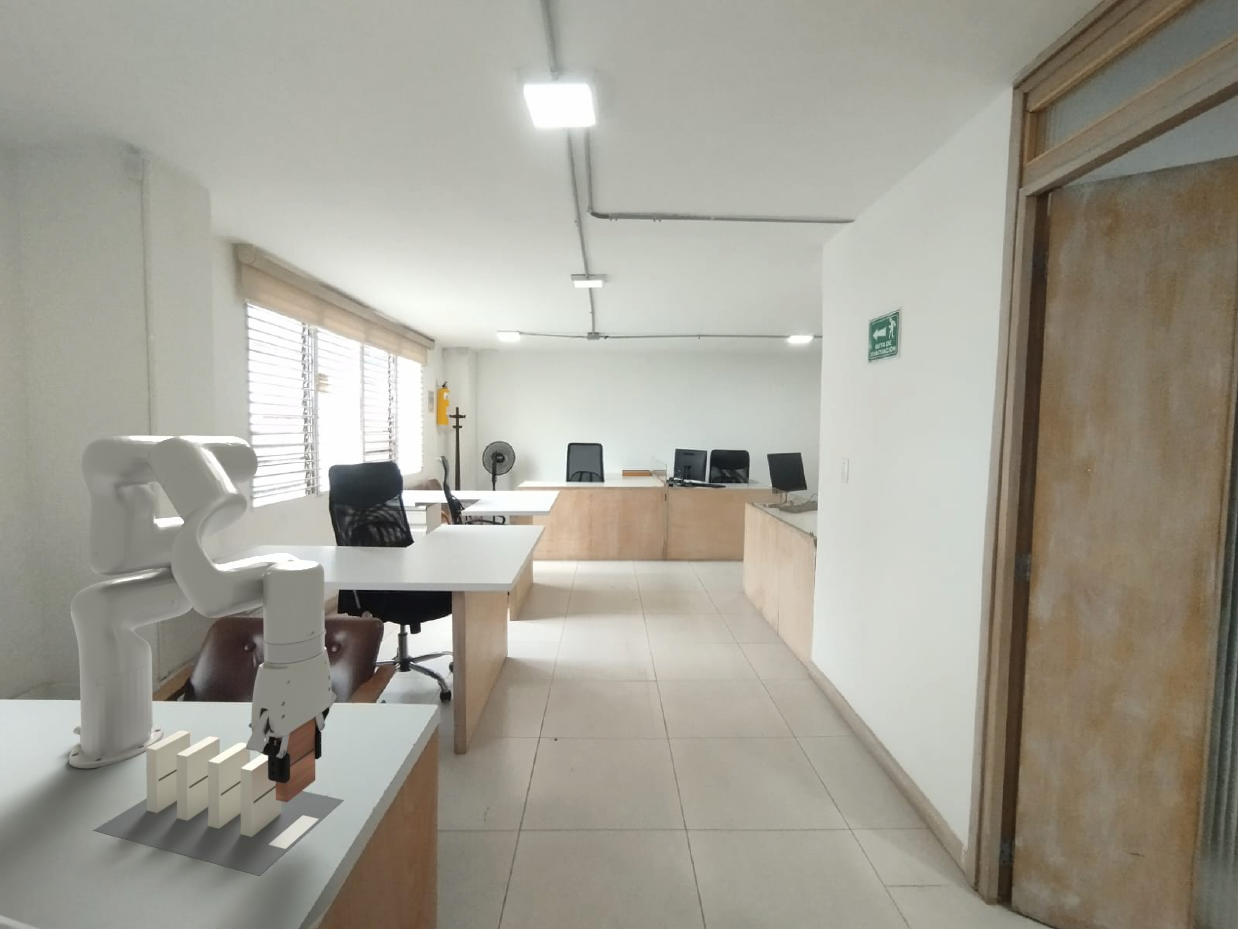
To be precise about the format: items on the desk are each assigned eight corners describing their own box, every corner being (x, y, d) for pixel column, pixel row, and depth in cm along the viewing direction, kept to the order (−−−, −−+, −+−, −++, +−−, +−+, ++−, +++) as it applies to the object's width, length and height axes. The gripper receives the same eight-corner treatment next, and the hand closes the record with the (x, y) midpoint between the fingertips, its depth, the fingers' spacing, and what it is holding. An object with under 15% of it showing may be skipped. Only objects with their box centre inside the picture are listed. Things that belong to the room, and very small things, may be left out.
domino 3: (208, 826, 77) (207, 761, 77) (239, 803, 82) (239, 742, 82) (219, 829, 77) (218, 763, 76) (250, 806, 82) (250, 744, 81)
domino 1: (146, 810, 80) (145, 747, 80) (180, 789, 85) (180, 730, 84) (157, 813, 80) (156, 750, 79) (190, 791, 84) (190, 732, 84)
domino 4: (240, 834, 76) (240, 768, 75) (270, 810, 81) (270, 748, 80) (252, 837, 75) (251, 770, 75) (281, 813, 80) (281, 750, 80)
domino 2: (176, 818, 79) (176, 754, 78) (209, 796, 84) (209, 736, 83) (187, 821, 78) (187, 756, 78) (220, 798, 83) (219, 738, 83)
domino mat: (93, 833, 76) (93, 830, 76) (197, 770, 90) (197, 767, 90) (260, 879, 69) (259, 875, 69) (343, 803, 84) (343, 800, 84)
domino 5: (275, 799, 74) (274, 731, 74) (304, 778, 79) (303, 714, 79) (287, 802, 74) (287, 734, 73) (315, 780, 79) (315, 716, 78)
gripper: (319, 624, 85) (320, 733, 85) (217, 668, 68) (218, 803, 69) (359, 629, 83) (359, 740, 84) (263, 675, 66) (264, 813, 67)
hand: (295, 767), depth 76 cm, fingers closed on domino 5, 4 cm apart
